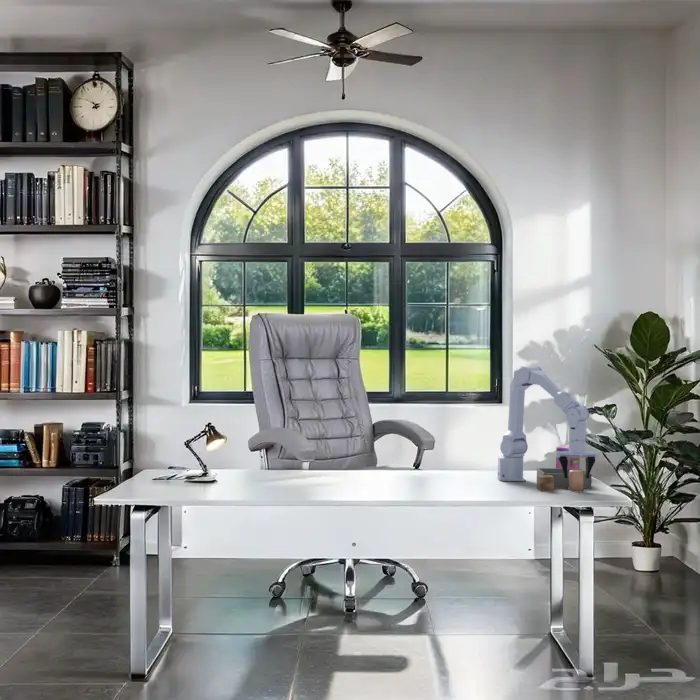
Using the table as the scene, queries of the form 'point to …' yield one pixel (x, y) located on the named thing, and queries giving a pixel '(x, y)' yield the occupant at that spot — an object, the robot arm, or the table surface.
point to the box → (572, 462)
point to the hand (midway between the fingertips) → (576, 477)
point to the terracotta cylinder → (576, 480)
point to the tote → (559, 477)
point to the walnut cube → (545, 482)
